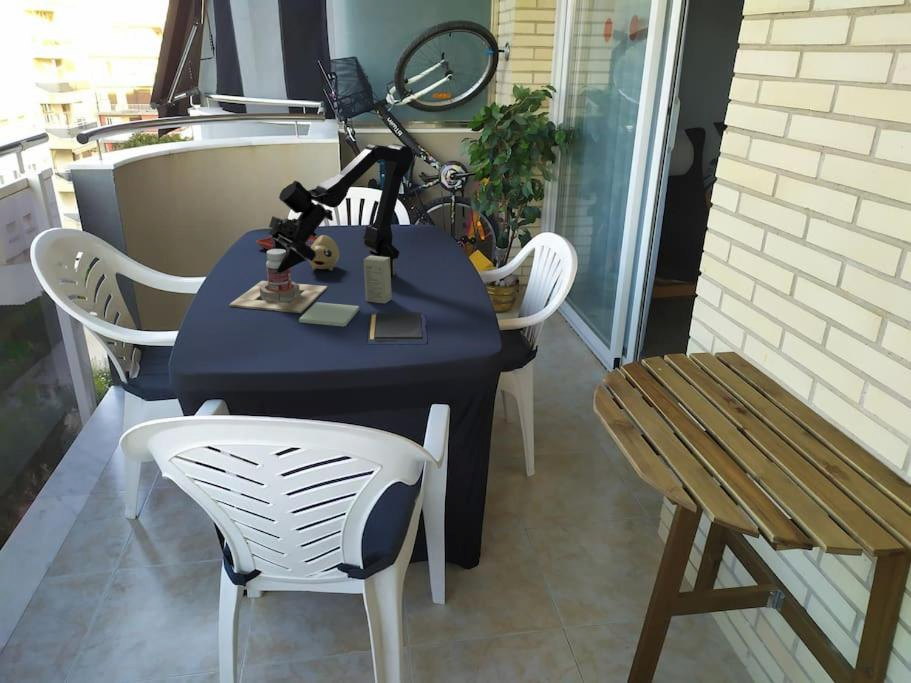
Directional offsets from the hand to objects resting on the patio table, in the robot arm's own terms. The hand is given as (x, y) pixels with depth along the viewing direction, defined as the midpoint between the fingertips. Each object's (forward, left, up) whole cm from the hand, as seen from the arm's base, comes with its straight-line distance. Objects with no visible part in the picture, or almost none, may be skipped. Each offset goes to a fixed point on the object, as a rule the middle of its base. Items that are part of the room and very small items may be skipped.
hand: (273, 268), depth 175 cm
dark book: (-38, +13, -9) cm, 41 cm away
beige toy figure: (-4, -27, -9) cm, 29 cm away
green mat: (-19, +9, -8) cm, 23 cm away
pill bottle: (-1, -1, -7) cm, 7 cm away
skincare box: (-28, -5, -9) cm, 30 cm away
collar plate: (-1, -1, -8) cm, 8 cm away
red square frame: (+14, -47, -9) cm, 50 cm away
